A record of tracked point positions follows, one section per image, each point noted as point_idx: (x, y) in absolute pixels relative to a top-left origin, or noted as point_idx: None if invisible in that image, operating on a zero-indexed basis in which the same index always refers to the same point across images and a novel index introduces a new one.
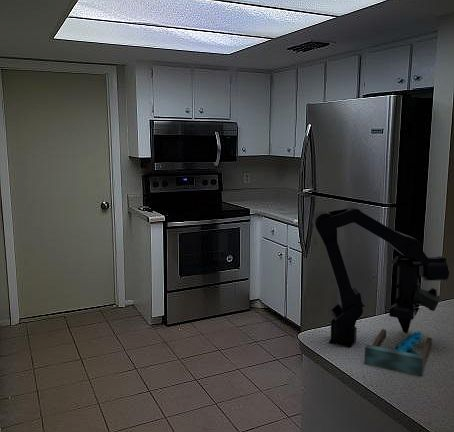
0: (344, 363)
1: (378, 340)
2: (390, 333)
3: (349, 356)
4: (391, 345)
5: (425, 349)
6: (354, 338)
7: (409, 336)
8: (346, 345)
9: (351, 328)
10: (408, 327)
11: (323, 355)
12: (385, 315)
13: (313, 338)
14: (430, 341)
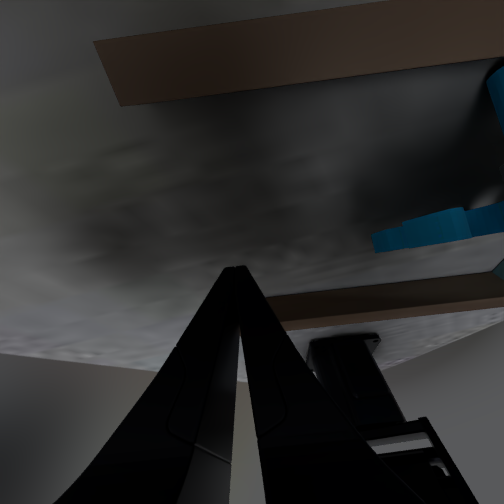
0: (497, 311)
1: (359, 315)
2: (174, 300)
3: (442, 317)
4: (305, 265)
5: (484, 26)
6: (368, 356)
7: (469, 236)
8: (378, 343)
9: (396, 403)
10: (264, 298)
11: (438, 347)
12: (16, 352)
13: None
14: (216, 28)
